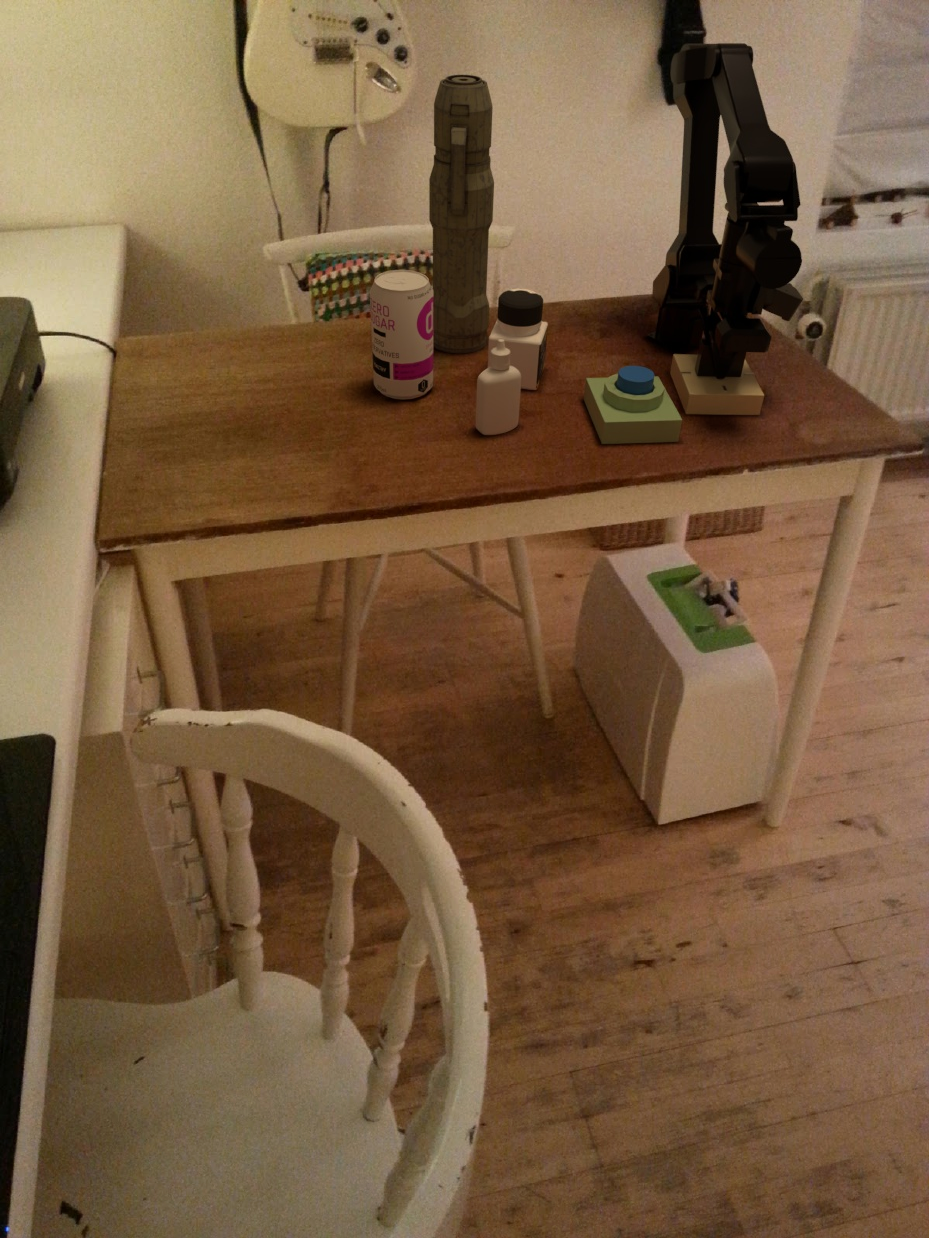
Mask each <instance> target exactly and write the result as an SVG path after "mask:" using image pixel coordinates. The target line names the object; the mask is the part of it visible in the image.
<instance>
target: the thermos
mask: <svg viewBox="0 0 929 1238" xmlns="http://www.w3.org/2000/svg"><path fill="white" fill-rule="evenodd" d="M490 93H491V92H490V89H489V85H488V81H486V80H484V79H483V78H482V77H480V76H477V75H472V74H452V75H448V76H446V77H445V78H442V79H441V80H440V81H439V84H438V86H437V91H436V94H435V98H434V102H433V146H434V148H435V151H434V152H435V154H433V165H432V169H431V172H430V175H429V178H428V179H429V182H428V183H429V184H428V185H429V186H428V188H429V190H428V192H429V198H428V199H429V202H428V203H429V204H428V205H429V206H428V208H429V211H428V212H429V213H428V215H429V216H428V218H429V219H428V220H429V223H430V225H431V228H432V288H433V348H435V349H437V350H438V351H441V352H445V353H448V354H449V353H450V354H471V353H475V352H477V351H481V350H482V349H483V348H485V347H486V345H487V344H488V329H489V326H490V309H491V308H490V302H489V298H488V296H487V291H488V290H487V286H488V285H487V284H488V265H489V264H488V263H489V262H488V261H489V235H490V228H491V226H492V223H493V221H494V219H493V218H494V197H495V196H494V195H495V194H494V193H495V180H494V176H493V171H492V168H491V162H492V161H491V159H492V158H491V156H490V148H491V147H492V134H493V133H492V131H493V128H492V127H493V102H492V97H491V94H490Z"/></svg>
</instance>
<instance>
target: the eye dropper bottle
mask: <svg viewBox="0 0 929 1238" xmlns="http://www.w3.org/2000/svg"><path fill="white" fill-rule="evenodd" d="M510 353H511V352H510V350H509V349H507V348H505V343H504V340H503V339H499V340H498V344H497V347H496V348H493V349H492V350H491V360H490V367H489V368H488V367H487V368H486V369H484V370H483V371H482V372H480V374H479V375H478V377H477V380H476V397H475V399H476V400H475V425H474V426H475V429H476V430H477V431H478V432H479V433H480V434H482V435H484V436H496V435H502V434H505V433H507V432H508V433H509V432H510V431H513V430H514V429H515V428H517V427H518V425H519V420H520V419H519V418H520V405H521V392H522V391H521V390H522V389H521V374H520V372H519V370H517V369H516V368H515V367H513V366H510Z"/></svg>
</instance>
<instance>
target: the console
mask: <svg viewBox="0 0 929 1238" xmlns="http://www.w3.org/2000/svg"><path fill="white" fill-rule="evenodd" d="M697 355H698V354H695V353H694V354H693V353H692V354H691V353H690V354H688V353H687V354H683V353H674V354H672V359H671V366H670V370H669V374H670V377H671V380H672V382H673V385H674V387H675V390H676V393H677V395H678V397H679V400H680V403H681V406H682V408H683V410H684V414H685V415H725V416H727V415H729V416H731V415H732V416H733V415H734V416H760V415H761V409H762V407H763V402H764V399H765V394H764V392H763V389H762V388H761V386H760V385H759V383H758V381H757V379H756V377H755V375H756V374H755V372H753V371H752V369H751V367H750V365H749V363H748V362H747V360H746V359H745V361H744V365H743V370H742V374H741V377H725V378H724V379H717V378H716V377H714V376H697V374H696V372H695V365H696V360H697Z"/></svg>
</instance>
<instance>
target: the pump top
mask: <svg viewBox="0 0 929 1238" xmlns="http://www.w3.org/2000/svg"><path fill="white" fill-rule="evenodd" d="M617 374H618V378H617V386H616V387H617V389H618V390H620V391H621V392H623V393H626V394H631V395H646V394H649V393H651V392H652V388H653V382H654V376H655V373H654V372H653V370H652V369H649V368H647V367H644V366H641V365H627V366H623V367H621V368H619V370H618V372H617Z"/></svg>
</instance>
